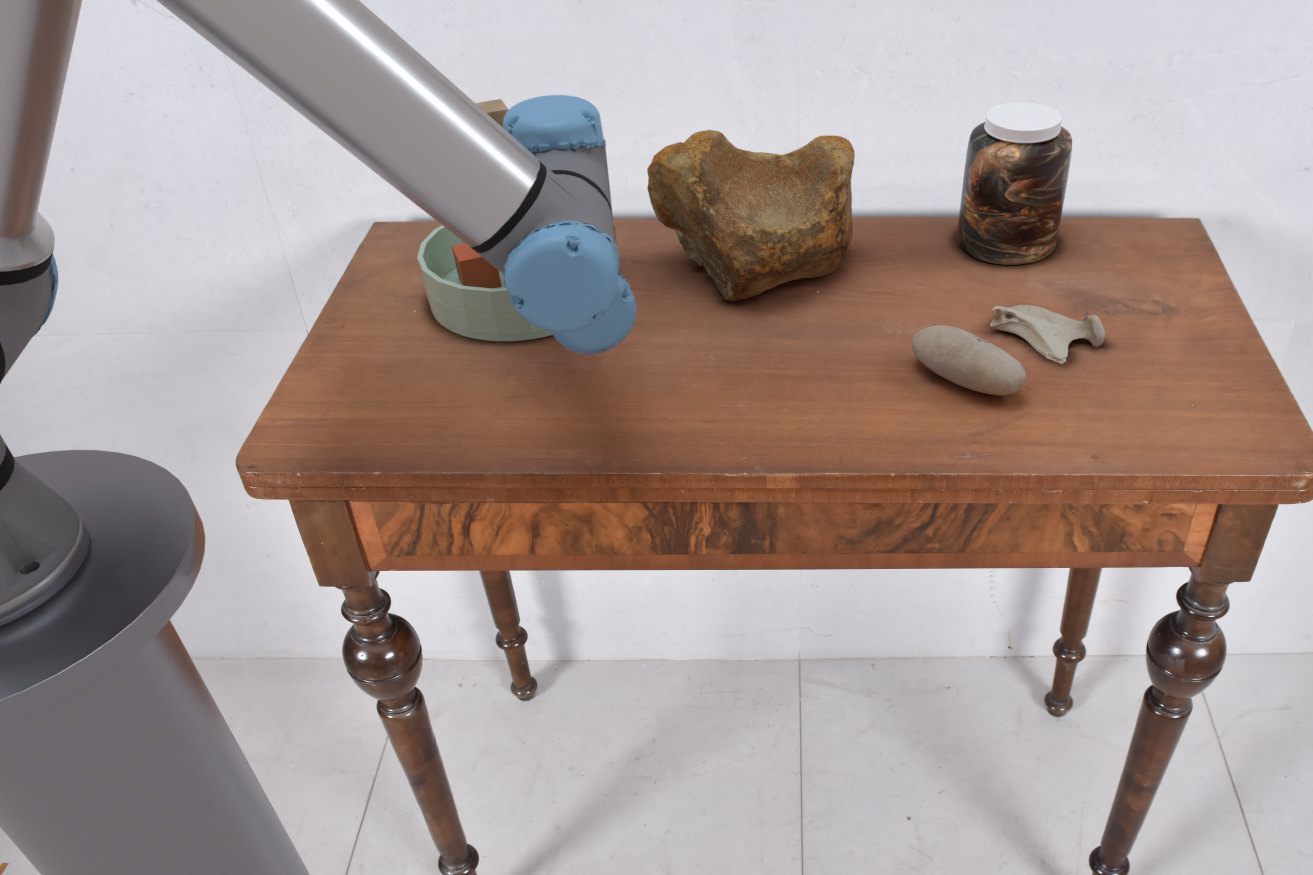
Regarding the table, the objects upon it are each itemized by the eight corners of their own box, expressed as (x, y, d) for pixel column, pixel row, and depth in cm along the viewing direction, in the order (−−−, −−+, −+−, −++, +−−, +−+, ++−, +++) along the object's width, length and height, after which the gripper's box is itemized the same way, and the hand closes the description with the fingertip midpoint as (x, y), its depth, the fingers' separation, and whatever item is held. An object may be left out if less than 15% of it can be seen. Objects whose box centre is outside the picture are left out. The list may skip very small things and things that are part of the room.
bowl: (450, 359, 110) (438, 307, 106) (415, 272, 124) (403, 224, 120) (638, 315, 116) (632, 265, 112) (584, 237, 130) (577, 190, 126)
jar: (947, 221, 131) (960, 98, 121) (1042, 217, 131) (1062, 94, 122) (967, 268, 122) (982, 139, 112) (1068, 263, 122) (1092, 134, 113)
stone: (928, 322, 108) (1040, 325, 101) (928, 384, 110) (1038, 391, 103) (898, 328, 104) (1013, 332, 97) (899, 392, 106) (1011, 401, 98)
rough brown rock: (653, 326, 115) (646, 200, 105) (650, 242, 127) (644, 121, 116) (867, 319, 117) (881, 195, 106) (845, 237, 129) (856, 118, 118)
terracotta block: (466, 294, 118) (458, 261, 115) (458, 278, 121) (451, 245, 118) (501, 286, 119) (495, 253, 117) (493, 270, 122) (487, 238, 119)
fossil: (1072, 371, 106) (1079, 341, 104) (982, 331, 112) (986, 302, 110) (1109, 344, 110) (1115, 314, 108) (1019, 307, 116) (1024, 278, 113)
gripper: (466, 299, 98) (419, 198, 114) (635, 261, 103) (567, 170, 119) (449, 222, 93) (402, 129, 109) (627, 186, 98) (557, 102, 114)
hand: (488, 150), depth 114 cm, fingers closed on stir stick, 3 cm apart
